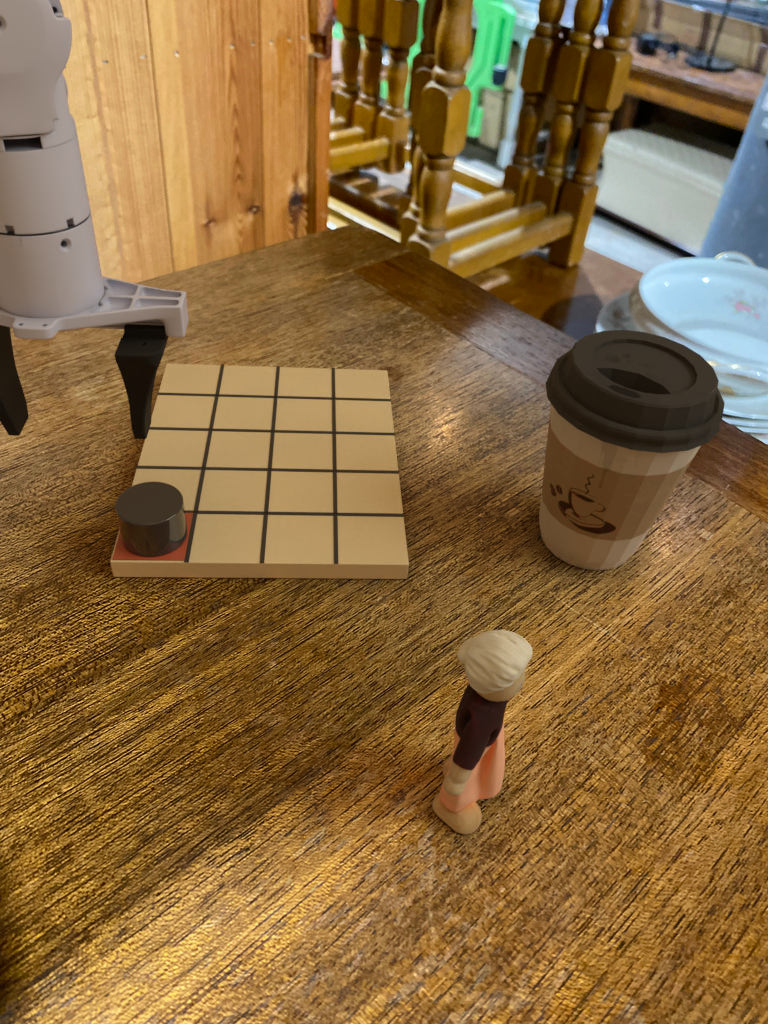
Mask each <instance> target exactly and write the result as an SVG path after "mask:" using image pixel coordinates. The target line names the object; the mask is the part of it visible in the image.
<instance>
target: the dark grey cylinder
mask: <svg viewBox="0 0 768 1024" xmlns="http://www.w3.org/2000/svg"><path fill="white" fill-rule="evenodd" d="M114 510H115V511H114V512H115V515H116V520H117V521H116V522H117V525H118V531H119V530H120V535H121V539H122V543H123V545H124V546H125V548H126V549H127V550H128V551H130V552H131V553H133V554H136V555H139V556H143V557H157V556H162V555H166V554H168V553H171V552H173V551H175V550H176V549H178V548H179V547H180V546H181V545H182V544H183V543H184V541H185V539H186V537H187V532H188V531H187V523H186V515H185V508H184V500H183V496H182V494H181V492H180V491H179V490H178V489H177V488H175V487H174V486H172V485H170V484H167V483H163V482H144V483H140V484H136V485H134V486H132V485H131V486H130V487H128V488H126V489H124V490H123V491H122V492H121V493H120V494H119V495H118V497H117V498H116V500H115V503H114Z"/></svg>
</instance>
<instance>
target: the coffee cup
mask: <svg viewBox="0 0 768 1024" xmlns="http://www.w3.org/2000/svg"><path fill="white" fill-rule="evenodd" d="M719 383H720V382H719V378H718V375H717V373H716V371H715V369H714V367H713V366H712V365H711V364H710V363H709V362H708V361H707V360H706V359H705V358H704V357H703V356H702V355H701V354H699V353H698V352H696V351H694V350H693V349H692V348H690V347H688V346H686V345H685V344H683V343H680V342H678V341H675V340H672V339H670V338H667V337H665V336H662V335H657V334H654V333H649V332H645V331H639V330H638V331H637V330H628V329H614V330H613V329H611V330H601V331H598V332H594V333H592V334H591V333H590V334H586V335H585V336H584V337H582V338H581V339H579V340H578V341H576V342H575V343H574V344H573V346H572V348H571V349H569V350H568V351H567V352H565V353H563V354H562V355H560V356H559V357H558V358H557V359H556V360H555V362H554V364H553V366H552V369H551V371H550V372H549V375H548V377H547V379H546V382H545V388H546V389H545V390H546V397H547V400H548V401H549V403H550V409H549V417H548V418H549V419H548V427H547V436H546V446H545V456H544V466H543V474H542V485H541V495H540V503H539V513H538V523H539V531H540V538H541V540H542V542H543V543H544V546H545V548H547V549H548V551H550V552H551V553H552V554H553V555H554V556H555V557H556V558H558V559H560V560H561V561H563V562H565V563H566V564H568V565H571V566H574V567H577V568H580V569H583V570H591V571H608V570H613V569H616V568H618V567H620V566H622V565H624V564H625V563H626V562H627V561H628V560H629V559H630V558H631V557H632V556H633V555H634V554H635V553H636V552H637V550H638V549H639V548H640V546H641V544H642V543H643V541H644V540H645V538H646V537H647V535H648V533H649V531H650V530H651V528H652V527H653V525H654V523H655V522H656V520H657V518H658V517H659V515H660V514H661V512H662V511H663V509H664V507H665V506H666V504H667V503H668V500H669V499H670V498H671V496H672V494H673V492H674V491H675V489H676V488H677V486H678V484H679V482H680V481H681V479H682V478H683V476H684V475H685V473H686V471H687V470H688V468H689V466H690V465H691V463H692V462H693V460H694V459H695V457H696V455H697V453H698V451H699V450H700V448H701V447H702V446H703V445H706V444H709V443H710V442H711V441H712V440H713V439H714V438H715V437H716V435H717V434H718V433H719V432H721V426H722V420H723V417H724V412H725V411H724V410H725V400H724V398H723V397H722V394H721V392H720V389H719V388H718V387H719Z"/></svg>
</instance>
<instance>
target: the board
mask: <svg viewBox="0 0 768 1024" xmlns="http://www.w3.org/2000/svg"><path fill="white" fill-rule="evenodd" d="M392 408H393V407H392V398H391V392H390V382H389V372H388V370H387V369H386V370H385V369H362V368H361V369H356V368H335V367H331V368H325V367H322V368H321V367H298V366H297V367H295V366H292V367H291V366H281V365H276V366H263V365H262V366H261V365H230V364H229V365H227V364H225V363H224V364H223V363H221V364H202V363H201V364H199V363H198V364H197V363H166V364H165V367H164V371H163V375H162V378H161V382H160V385H159V389H158V391H157V396H156V399H155V403H154V407H153V409H152V412H151V425H150V428H149V432H148V435H147V438H146V439H144V441H143V445H142V449H141V452H140V456H139V459H138V462H137V465H136V468H135V472H134V477H133V480H132V484H131V486H134V485H136V484H140V483H144V482H163V483H167V484H170V485H172V486H174V487H175V488H177V489H178V490H179V491H180V492H181V494H182V496H183V500H184V508H185V515H186V523H187V531H188V532H187V537H186V539H185V541H184V543H183V544H182V545H181V546H180V547H179V548H178V549H176V550H175V551H173V552H171V553H168V554H166V555H162V556H157V557H143V556H139V555H136V554H133V553H131V552H130V551H128V550H127V549H126V548H125V546H124V545H123V543H122V539H121V535H120V530H119V529H118V533H117V536H116V540H115V543H114V547H113V549H112V553H111V557H110V560H109V563H110V568H111V572H112V576H113V578H193V579H195V578H198V579H199V578H201V579H202V578H203V579H204V578H210V579H213V578H214V579H217V578H218V579H219V578H220V579H224V578H225V579H228V578H229V579H231V578H232V579H326V580H327V579H329V580H330V579H335V580H336V579H339V580H340V579H341V580H343V579H346V580H348V579H349V580H407V579H408V574H409V568H410V562H409V551H408V543H407V535H406V523H405V515H404V514H405V513H404V508H403V507H404V506H403V497H402V489H401V481H400V470H399V462H398V453H397V444H396V436H395V435H396V434H395V433H396V432H395V426H394V425H395V424H394V417H393V409H392Z"/></svg>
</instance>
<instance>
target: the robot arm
mask: <svg viewBox="0 0 768 1024" xmlns="http://www.w3.org/2000/svg"><path fill="white" fill-rule="evenodd" d="M72 42H73V29H72V21H71V20H70V18H69V17H67V16H65V14H64V10H63V6H62V3H61V0H0V423H1V426H2V427H3V428H4V430H5V431H6V433H7V435H8V436H17V437H19V436H20V435H21V433H22V431H23V429H24V427H25V425H26V424H27V422H28V419H29V417H30V416H29V411H28V403H27V398H26V395H25V392H24V389H23V386H22V382H21V380H20V376H19V373H18V369H17V366H16V365H17V364H16V360H15V354H14V347H13V342H12V335H11V334H12V333H11V329H12V331H13V334H14V336H15V337H16V338H17V339H19V340H20V339H21V340H40V341H41V340H43V341H45V340H50V339H53V338H55V336H56V335H57V334H58V332H66V331H67V332H68V331H75V330H83V329H105V330H106V329H108V330H123V334H122V337H121V338H120V339H119V341H118V345H117V347H116V350H115V353H114V360H115V363H116V365H117V368H118V370H119V372H120V375H121V378H122V381H123V384H124V385H123V386H124V388H125V392H126V395H127V396H126V397H127V400H128V406H129V407H128V408H129V415H130V426H131V431H132V435H133V438H134V440H145V439H146V438H147V435H148V432H149V428H150V425H151V417H152V405H153V404H152V403H153V393H154V388H155V381H156V377H157V373H158V369H159V367H160V365H161V362H162V359H163V356H164V353H165V350H166V347H167V344H168V340H169V338H185V337H186V334H187V333H186V332H187V330H188V326H189V322H190V319H189V317H190V316H189V309H188V299H187V298H188V297H187V292H186V291H185V290H174V289H165V288H159V287H153V286H148V285H145V284H139V283H135V282H131V281H126V280H123V279H122V280H121V279H118V278H117V279H116V278H112V277H108V276H103V273H102V267H101V262H100V256H99V250H98V244H97V238H96V234H95V227H94V222H93V216H92V210H91V204H90V198H89V193H88V192H89V191H88V187H87V181H86V176H85V170H84V164H83V159H82V154H81V148H80V143H79V141H80V140H79V136H78V129H77V124H76V120H75V118H74V116H73V114H72V113H71V112H70V107H69V100H68V99H69V89H68V84H67V80H66V77H65V75H64V70H65V69H66V66H67V64H68V61H69V59H70V54H71V51H72V45H73V43H72Z"/></svg>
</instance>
